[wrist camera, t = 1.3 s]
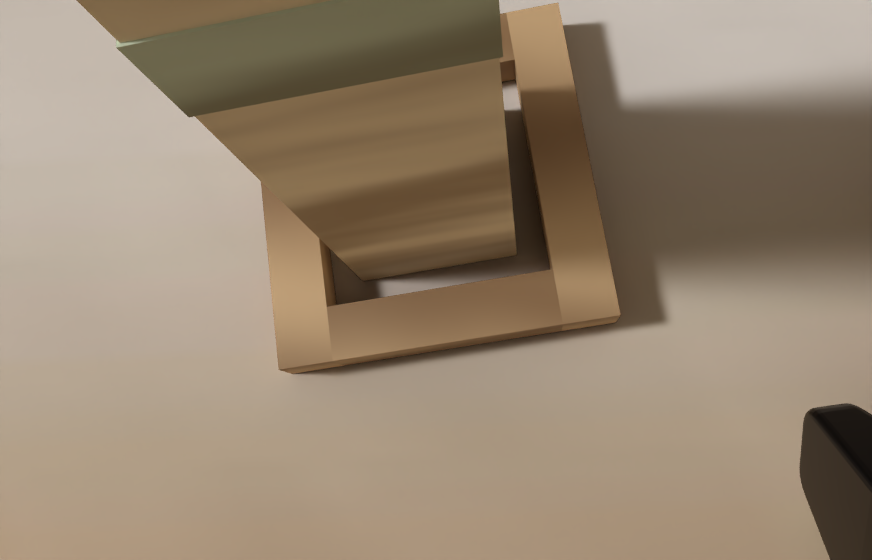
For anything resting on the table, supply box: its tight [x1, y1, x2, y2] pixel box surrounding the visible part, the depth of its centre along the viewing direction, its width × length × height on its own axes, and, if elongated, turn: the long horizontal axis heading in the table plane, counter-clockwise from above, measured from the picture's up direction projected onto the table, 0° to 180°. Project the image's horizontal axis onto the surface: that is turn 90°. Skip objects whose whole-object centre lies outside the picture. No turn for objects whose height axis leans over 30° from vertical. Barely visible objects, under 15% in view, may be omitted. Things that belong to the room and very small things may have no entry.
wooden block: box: [77, 0, 517, 281], centre depth 15 cm, size 5×5×15 cm
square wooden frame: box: [261, 3, 621, 374], centre depth 22 cm, size 9×9×1 cm
